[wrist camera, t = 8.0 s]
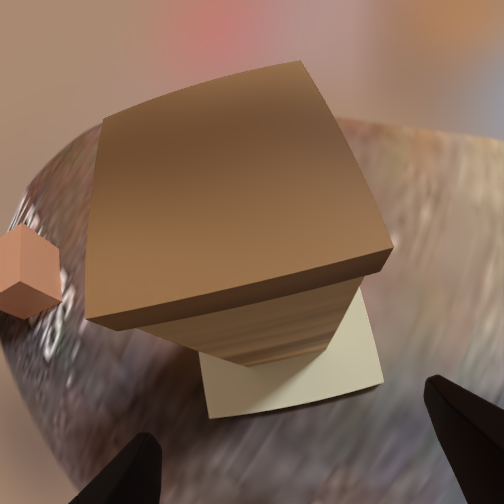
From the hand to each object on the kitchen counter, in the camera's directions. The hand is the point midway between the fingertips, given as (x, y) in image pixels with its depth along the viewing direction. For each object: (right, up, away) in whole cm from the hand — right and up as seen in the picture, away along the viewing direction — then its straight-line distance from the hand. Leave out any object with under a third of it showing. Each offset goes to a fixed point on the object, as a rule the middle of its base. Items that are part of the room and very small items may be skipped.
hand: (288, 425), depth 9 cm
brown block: (0, +1, +9) cm, 9 cm away
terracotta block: (-19, +2, +14) cm, 24 cm away
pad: (+1, +1, +10) cm, 10 cm away
